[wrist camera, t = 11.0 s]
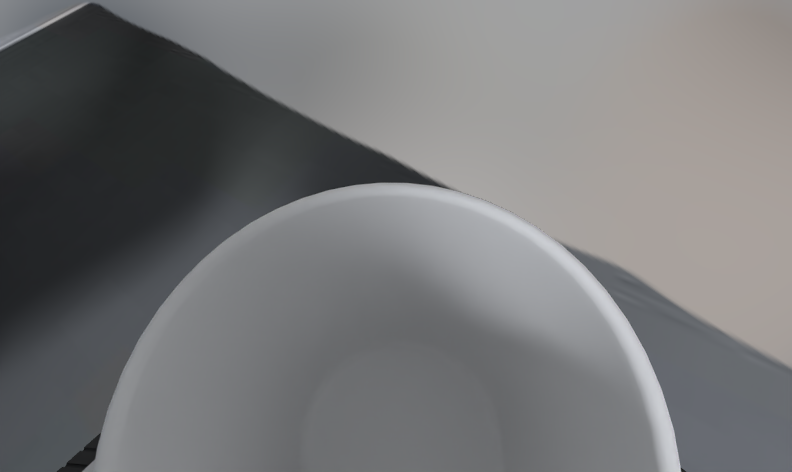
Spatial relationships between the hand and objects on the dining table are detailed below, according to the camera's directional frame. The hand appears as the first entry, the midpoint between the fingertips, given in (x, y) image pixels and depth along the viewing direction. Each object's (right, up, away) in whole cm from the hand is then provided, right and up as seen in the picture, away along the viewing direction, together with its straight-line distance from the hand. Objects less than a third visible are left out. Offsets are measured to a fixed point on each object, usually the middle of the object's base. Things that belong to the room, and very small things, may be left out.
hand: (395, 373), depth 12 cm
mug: (-1, -5, +2) cm, 5 cm away
